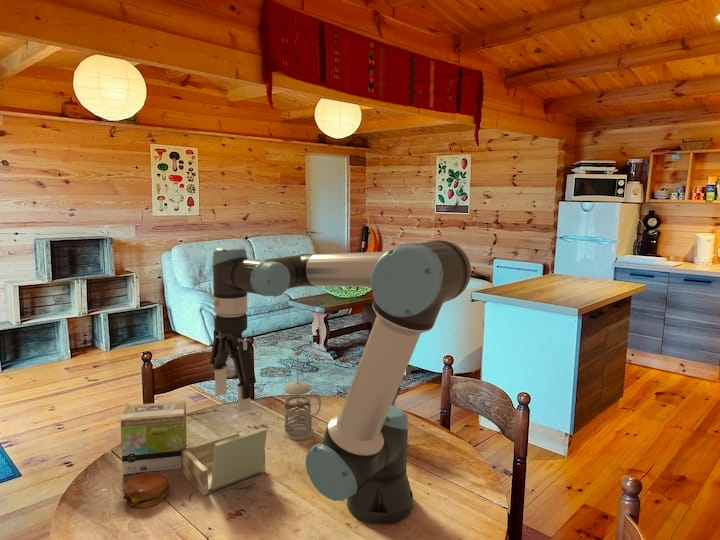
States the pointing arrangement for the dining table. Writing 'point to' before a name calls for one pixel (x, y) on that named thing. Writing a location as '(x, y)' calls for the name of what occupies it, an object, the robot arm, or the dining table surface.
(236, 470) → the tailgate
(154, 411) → the tea box
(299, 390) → the french press
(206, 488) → the crate
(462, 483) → the dining table surface
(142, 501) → the burger
